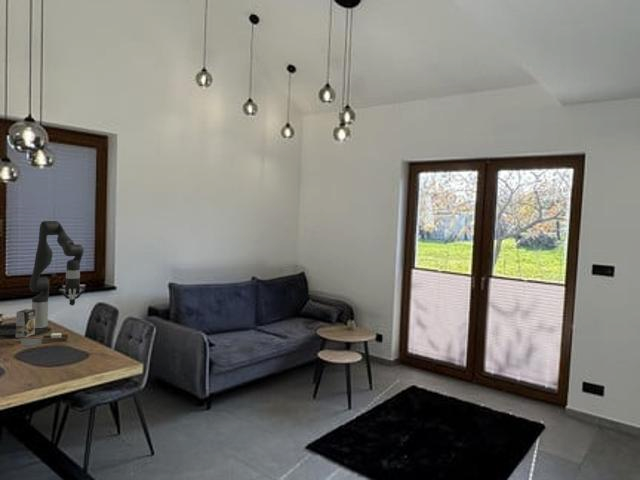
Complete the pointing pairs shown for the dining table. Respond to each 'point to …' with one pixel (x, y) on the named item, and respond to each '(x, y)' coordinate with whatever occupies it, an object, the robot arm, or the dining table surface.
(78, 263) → the robot arm
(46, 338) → the chute
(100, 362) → the dining table surface
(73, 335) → the dining table surface
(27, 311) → the coffee box
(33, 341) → the pad
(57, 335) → the pale block
